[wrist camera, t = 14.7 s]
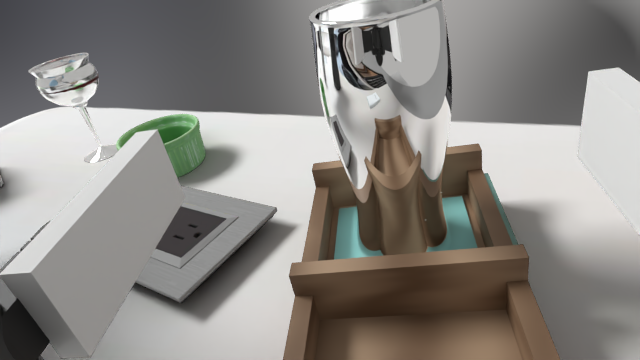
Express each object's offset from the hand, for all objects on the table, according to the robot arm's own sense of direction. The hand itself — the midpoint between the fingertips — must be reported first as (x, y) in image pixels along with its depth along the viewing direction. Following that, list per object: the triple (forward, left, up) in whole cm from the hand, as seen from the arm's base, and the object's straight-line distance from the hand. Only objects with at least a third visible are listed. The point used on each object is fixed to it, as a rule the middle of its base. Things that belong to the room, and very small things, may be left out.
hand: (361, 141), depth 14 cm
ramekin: (-24, +30, -15) cm, 41 cm away
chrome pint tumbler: (+1, +11, -13) cm, 17 cm away
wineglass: (-36, +36, -15) cm, 53 cm away
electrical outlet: (-17, +15, -15) cm, 27 cm away
